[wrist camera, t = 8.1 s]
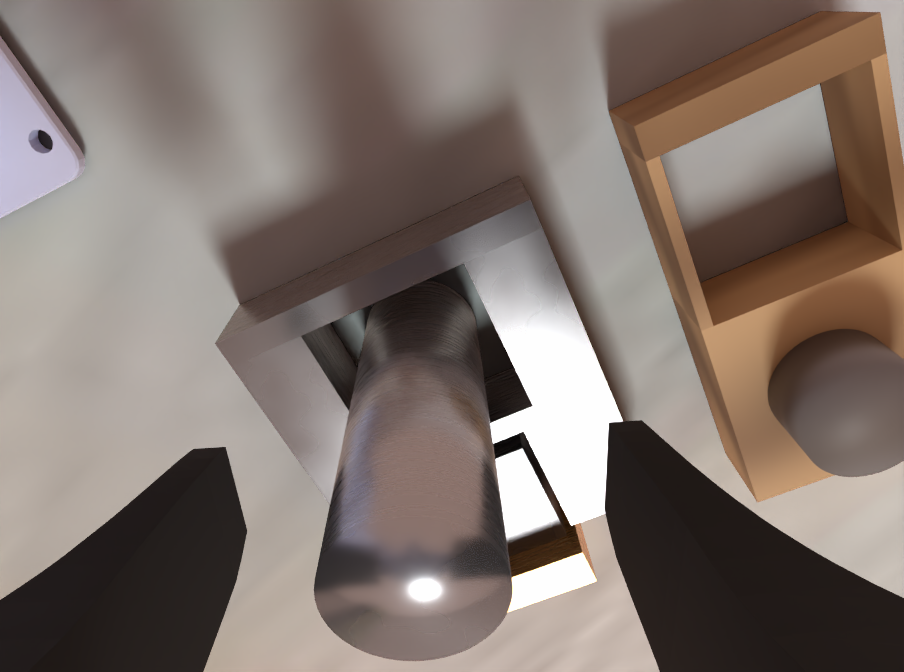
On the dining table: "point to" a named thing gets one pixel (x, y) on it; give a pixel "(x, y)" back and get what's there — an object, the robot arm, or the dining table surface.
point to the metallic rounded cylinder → (416, 489)
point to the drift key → (537, 528)
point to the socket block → (512, 313)
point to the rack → (793, 262)
